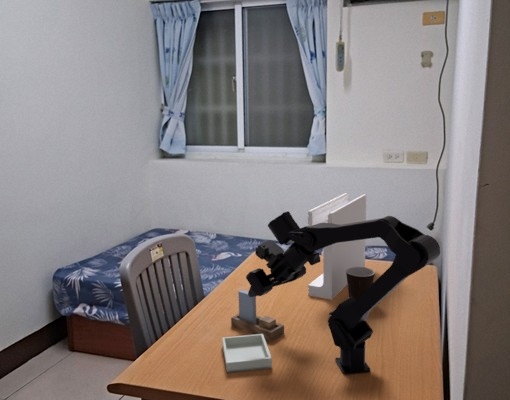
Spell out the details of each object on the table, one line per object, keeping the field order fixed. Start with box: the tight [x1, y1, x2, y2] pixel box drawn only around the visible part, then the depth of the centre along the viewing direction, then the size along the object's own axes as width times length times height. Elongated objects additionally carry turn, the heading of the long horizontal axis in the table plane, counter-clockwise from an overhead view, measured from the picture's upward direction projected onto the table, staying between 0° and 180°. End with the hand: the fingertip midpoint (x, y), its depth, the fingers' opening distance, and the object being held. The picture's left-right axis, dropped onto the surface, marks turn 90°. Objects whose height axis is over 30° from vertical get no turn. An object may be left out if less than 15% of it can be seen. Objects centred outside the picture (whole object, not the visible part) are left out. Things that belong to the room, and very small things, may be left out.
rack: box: [230, 313, 285, 342], centre depth 130 cm, size 15×5×2 cm, turn 49°
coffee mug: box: [346, 266, 376, 300], centre depth 145 cm, size 12×9×10 cm
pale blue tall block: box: [237, 289, 257, 324], centre depth 132 cm, size 5×2×10 cm, turn 49°
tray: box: [221, 334, 273, 374], centre depth 116 cm, size 13×11×2 cm
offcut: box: [259, 315, 277, 330], centre depth 127 cm, size 4×3×2 cm
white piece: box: [307, 192, 367, 301], centre depth 164 cm, size 35×8×28 cm, turn 150°
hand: (260, 290), depth 127 cm, fingers open, 9 cm apart
